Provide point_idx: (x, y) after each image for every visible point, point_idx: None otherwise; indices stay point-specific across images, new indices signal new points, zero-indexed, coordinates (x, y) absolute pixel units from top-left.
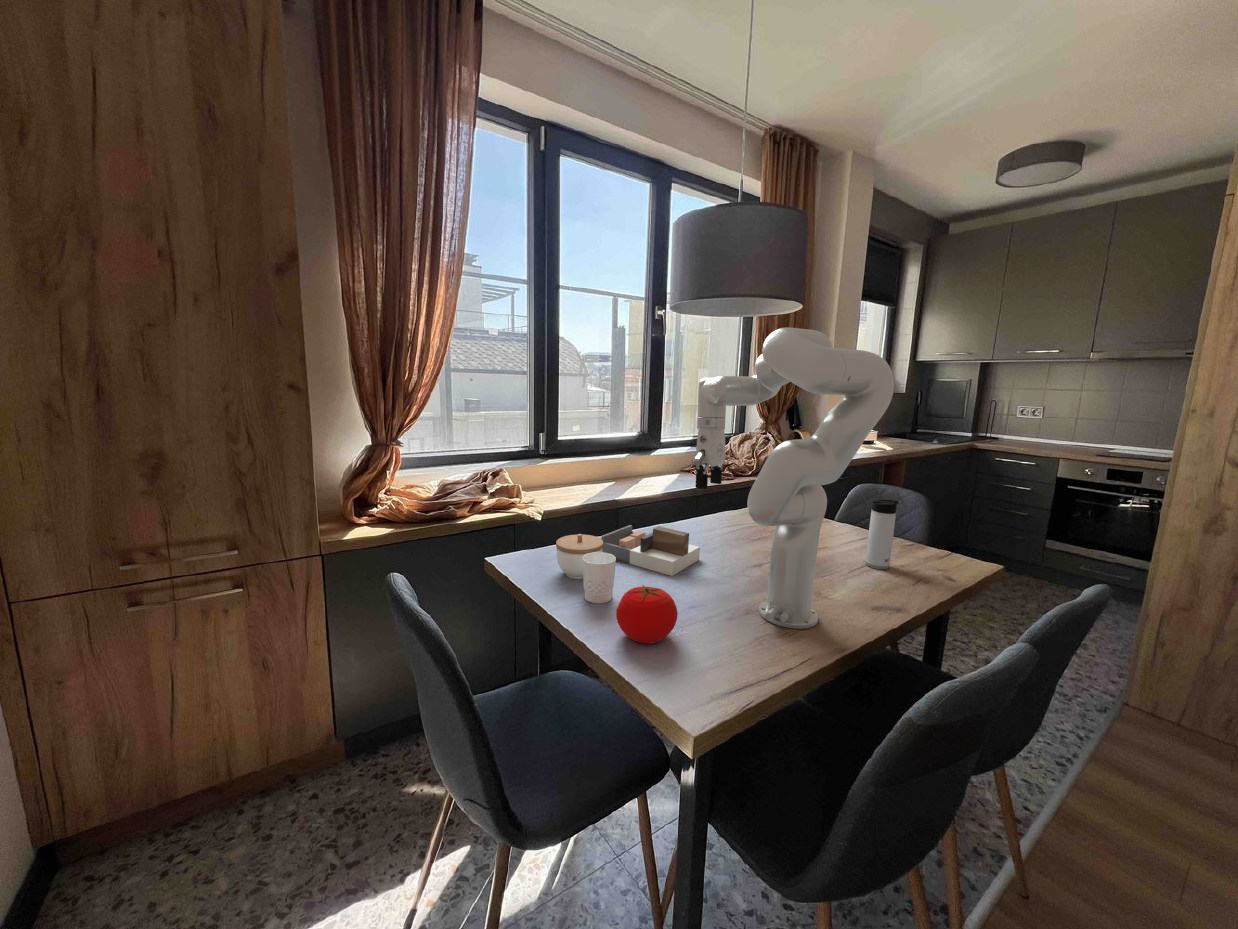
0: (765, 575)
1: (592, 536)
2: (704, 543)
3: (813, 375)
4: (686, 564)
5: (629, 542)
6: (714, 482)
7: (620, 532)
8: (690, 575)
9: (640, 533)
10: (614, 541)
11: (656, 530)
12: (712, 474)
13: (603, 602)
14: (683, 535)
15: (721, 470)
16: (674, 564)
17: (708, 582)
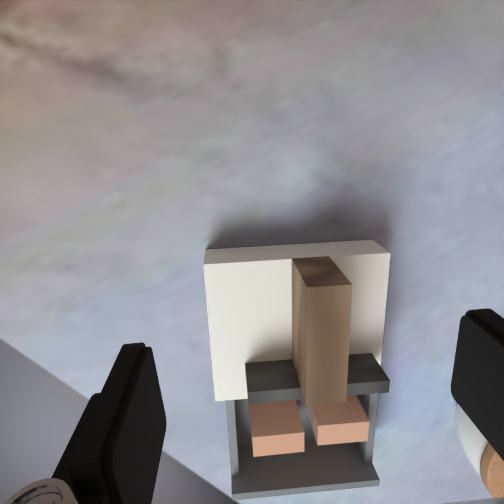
0: (169, 6)
1: (500, 471)
2: (55, 313)
3: None
4: (291, 247)
5: (348, 418)
6: (158, 396)
7: (294, 480)
8: (335, 203)
9: (272, 440)
10: (318, 459)
11: (345, 386)
12: (146, 486)
13: None
14: (349, 286)
15: (91, 459)
16: (373, 249)
17: (350, 136)
